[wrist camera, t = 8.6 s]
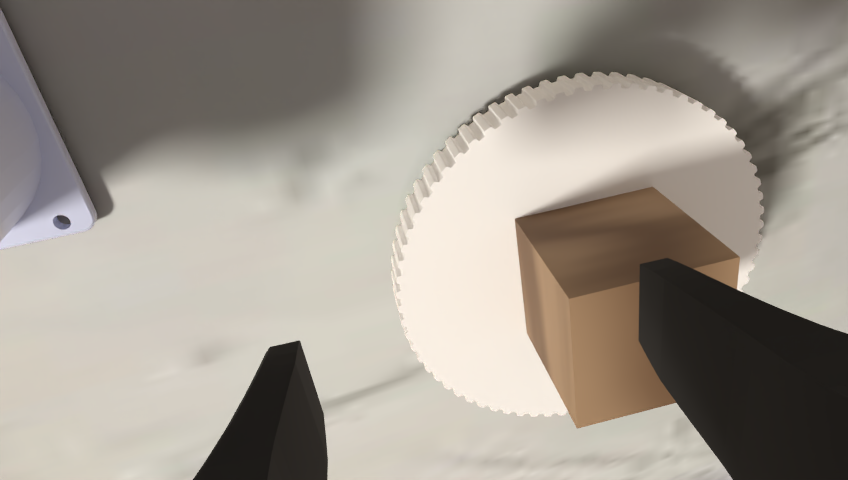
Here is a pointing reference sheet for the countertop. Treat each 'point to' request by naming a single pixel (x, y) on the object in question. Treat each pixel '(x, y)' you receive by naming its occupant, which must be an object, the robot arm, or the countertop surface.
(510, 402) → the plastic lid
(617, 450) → the countertop surface
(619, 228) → the walnut cube
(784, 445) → the robot arm
